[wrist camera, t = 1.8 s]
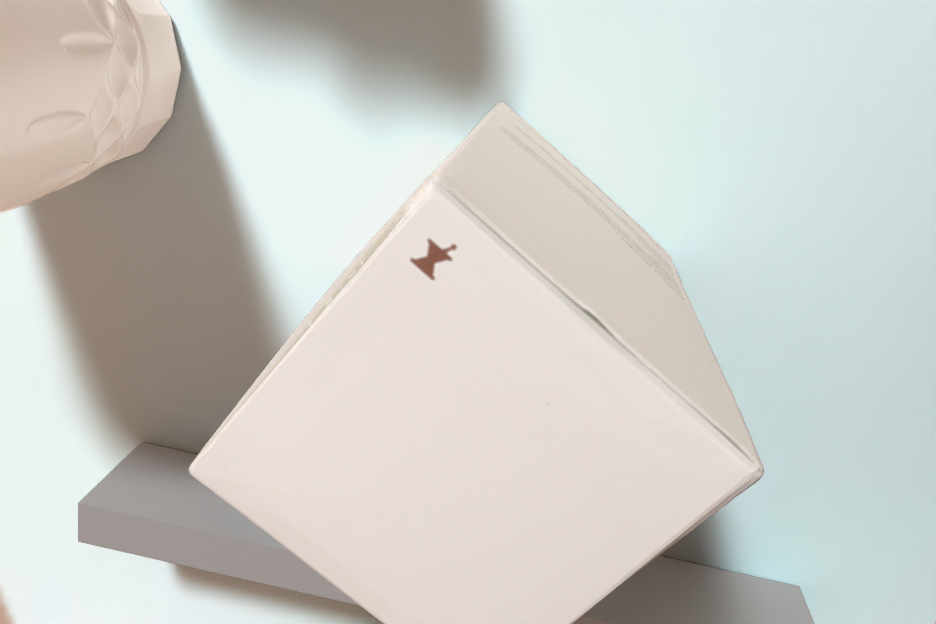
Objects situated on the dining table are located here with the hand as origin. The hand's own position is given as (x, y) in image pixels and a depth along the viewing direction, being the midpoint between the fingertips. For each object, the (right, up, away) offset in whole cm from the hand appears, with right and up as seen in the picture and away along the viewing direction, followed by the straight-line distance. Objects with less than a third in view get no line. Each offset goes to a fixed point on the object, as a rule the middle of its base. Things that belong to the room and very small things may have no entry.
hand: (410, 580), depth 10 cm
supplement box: (+2, +5, +15) cm, 16 cm away
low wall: (0, -4, +18) cm, 19 cm away
